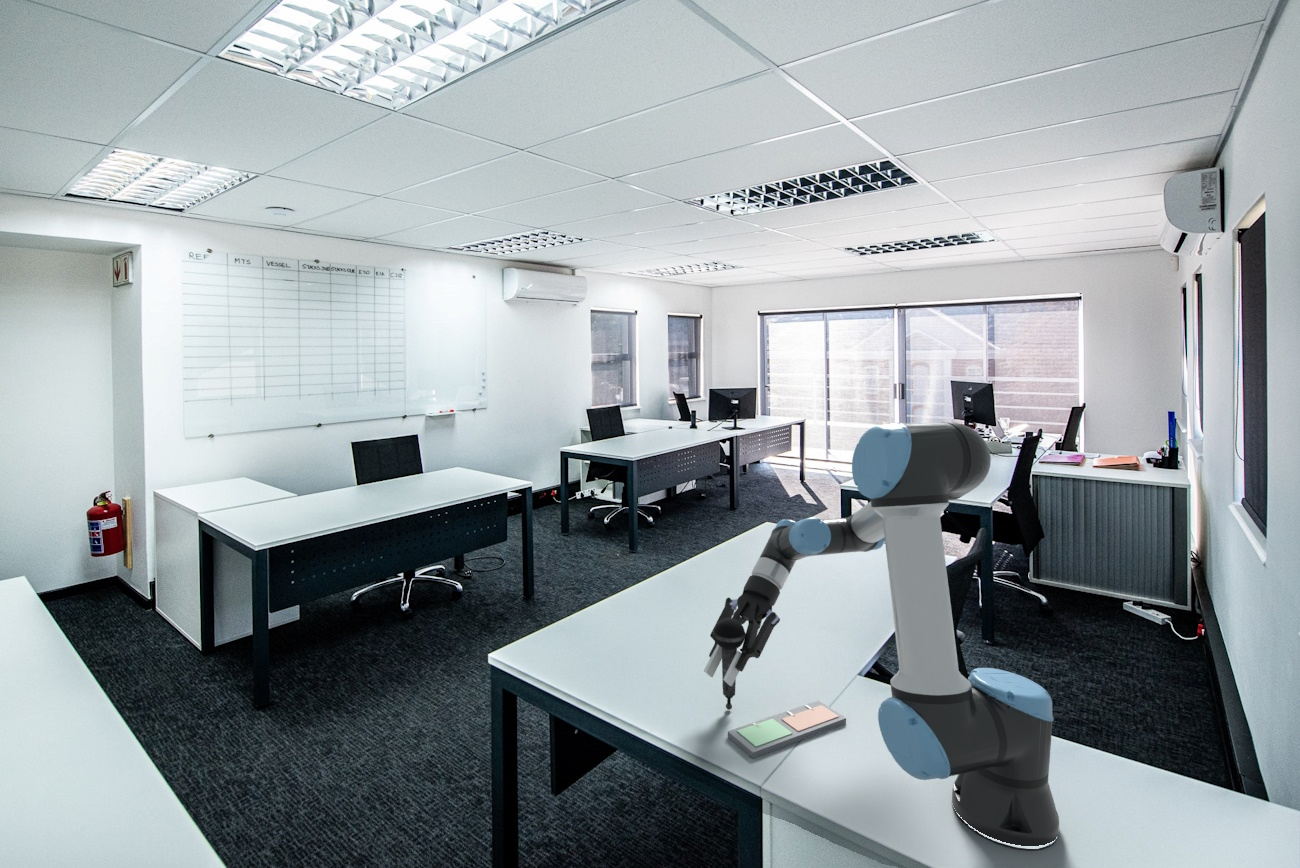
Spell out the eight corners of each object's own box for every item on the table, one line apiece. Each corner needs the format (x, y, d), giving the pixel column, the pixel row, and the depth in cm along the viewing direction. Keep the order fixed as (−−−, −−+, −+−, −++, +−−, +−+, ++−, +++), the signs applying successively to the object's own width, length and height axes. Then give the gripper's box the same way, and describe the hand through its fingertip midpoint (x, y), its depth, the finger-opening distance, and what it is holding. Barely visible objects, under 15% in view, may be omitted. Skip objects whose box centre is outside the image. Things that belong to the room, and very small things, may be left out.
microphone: (744, 701, 138) (745, 613, 136) (746, 718, 131) (746, 626, 129) (712, 700, 138) (713, 612, 136) (712, 717, 132) (713, 624, 130)
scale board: (846, 723, 129) (846, 717, 129) (752, 758, 118) (753, 751, 118) (818, 705, 136) (818, 699, 136) (727, 736, 125) (727, 730, 125)
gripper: (806, 601, 137) (759, 701, 127) (741, 582, 149) (694, 672, 140) (792, 583, 132) (743, 685, 123) (727, 565, 145) (678, 656, 135)
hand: (717, 678), depth 131 cm, fingers closed on microphone, 5 cm apart
